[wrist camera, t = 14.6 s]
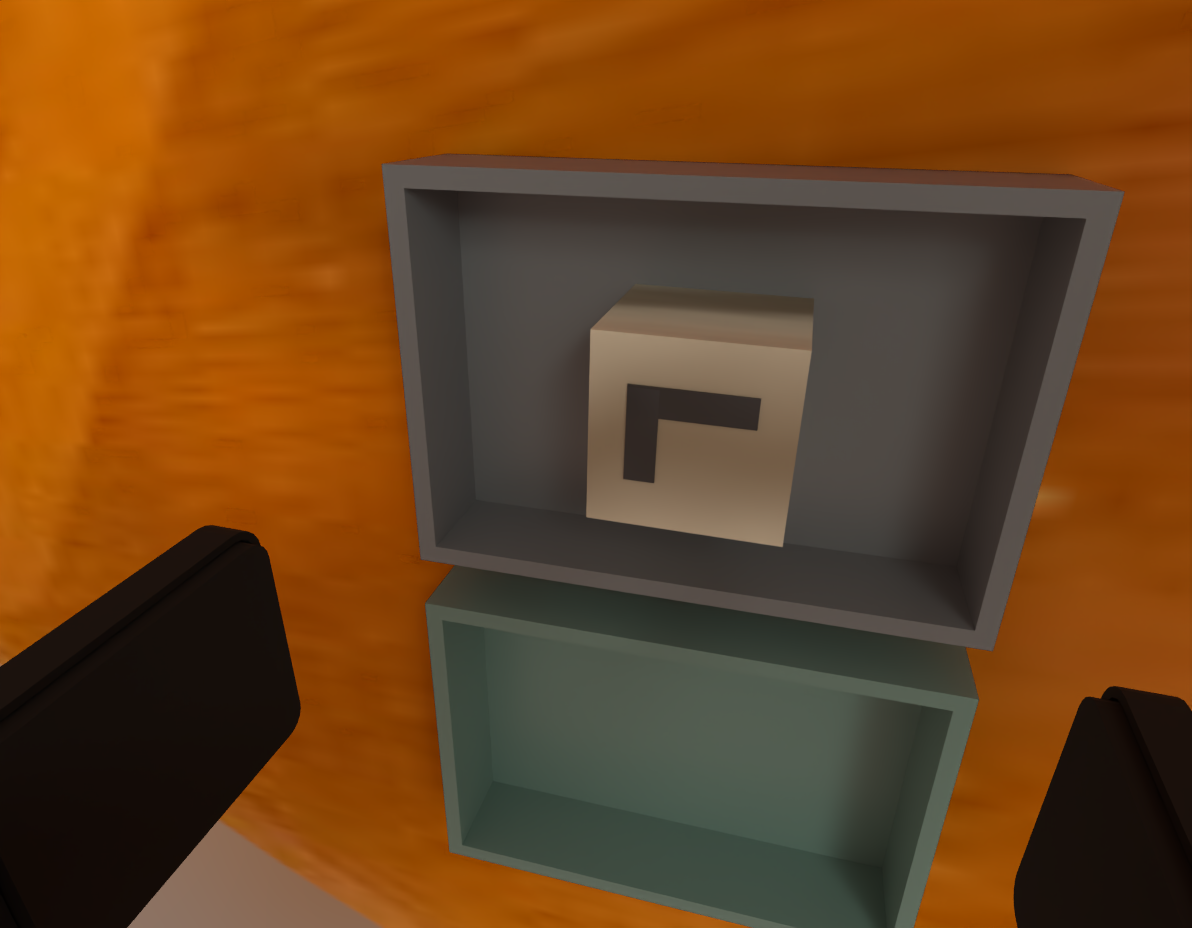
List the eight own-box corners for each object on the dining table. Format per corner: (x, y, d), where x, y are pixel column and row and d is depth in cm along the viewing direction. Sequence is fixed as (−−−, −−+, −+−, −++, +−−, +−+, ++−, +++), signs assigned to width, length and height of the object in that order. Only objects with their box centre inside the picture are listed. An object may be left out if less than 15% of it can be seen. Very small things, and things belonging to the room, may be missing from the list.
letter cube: (633, 283, 20) (587, 329, 16) (814, 298, 19) (812, 351, 15) (626, 442, 22) (583, 518, 18) (790, 463, 21) (782, 547, 17)
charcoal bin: (446, 153, 21) (381, 163, 18) (1071, 174, 17) (1124, 191, 14) (469, 503, 25) (420, 559, 22) (968, 573, 22) (992, 651, 19)
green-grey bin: (472, 542, 26) (424, 603, 23) (957, 617, 23) (978, 699, 19) (487, 775, 30) (449, 852, 27) (894, 866, 27) (902, 965, 24)
